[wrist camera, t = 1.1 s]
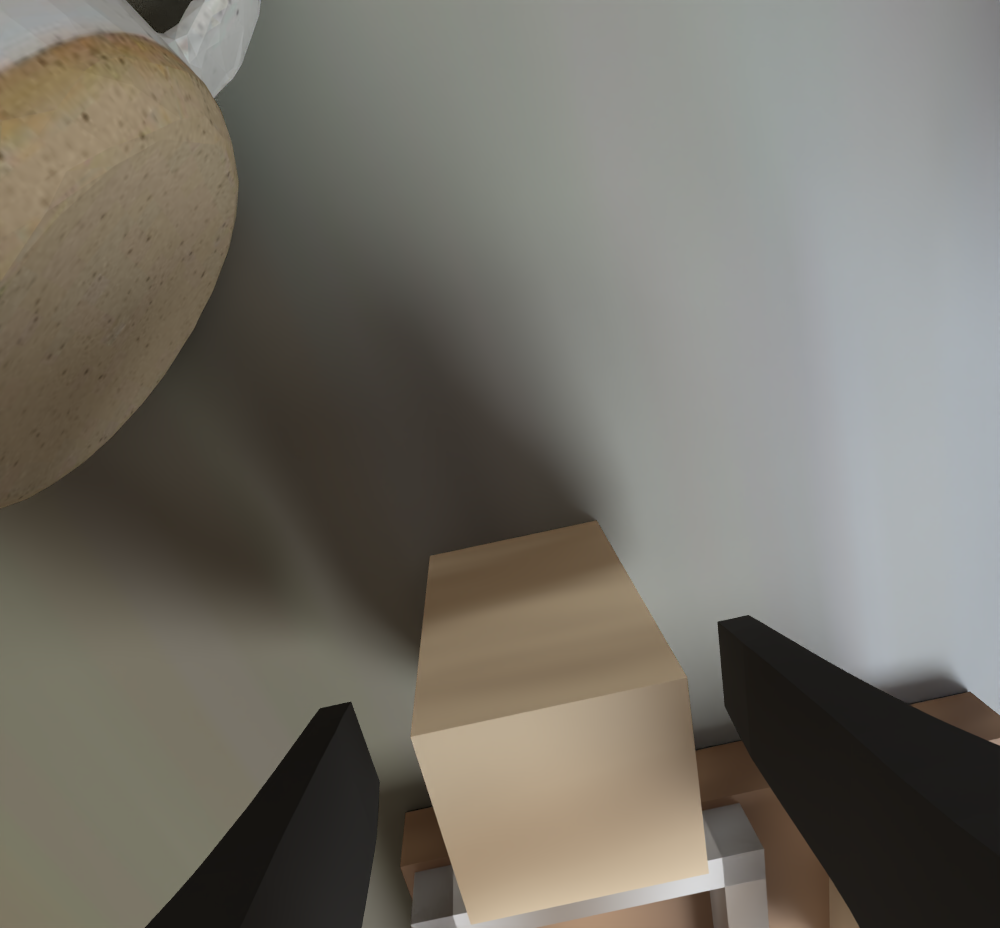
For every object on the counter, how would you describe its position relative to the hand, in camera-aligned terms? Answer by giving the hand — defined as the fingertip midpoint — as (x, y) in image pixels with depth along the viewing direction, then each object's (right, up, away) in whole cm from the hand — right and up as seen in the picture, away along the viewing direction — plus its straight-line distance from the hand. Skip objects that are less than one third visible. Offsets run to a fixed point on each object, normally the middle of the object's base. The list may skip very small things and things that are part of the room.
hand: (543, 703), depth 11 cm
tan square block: (0, +1, +3) cm, 3 cm away
